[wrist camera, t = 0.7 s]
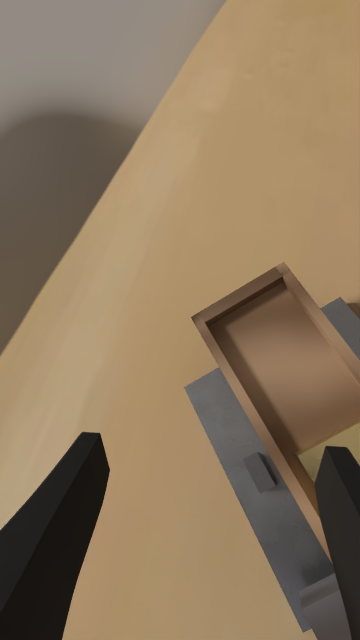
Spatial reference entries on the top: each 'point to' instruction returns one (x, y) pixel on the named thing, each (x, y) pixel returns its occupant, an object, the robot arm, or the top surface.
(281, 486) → the pivot stand
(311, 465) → the yellow block
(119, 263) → the top surface
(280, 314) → the brown wooden tray
